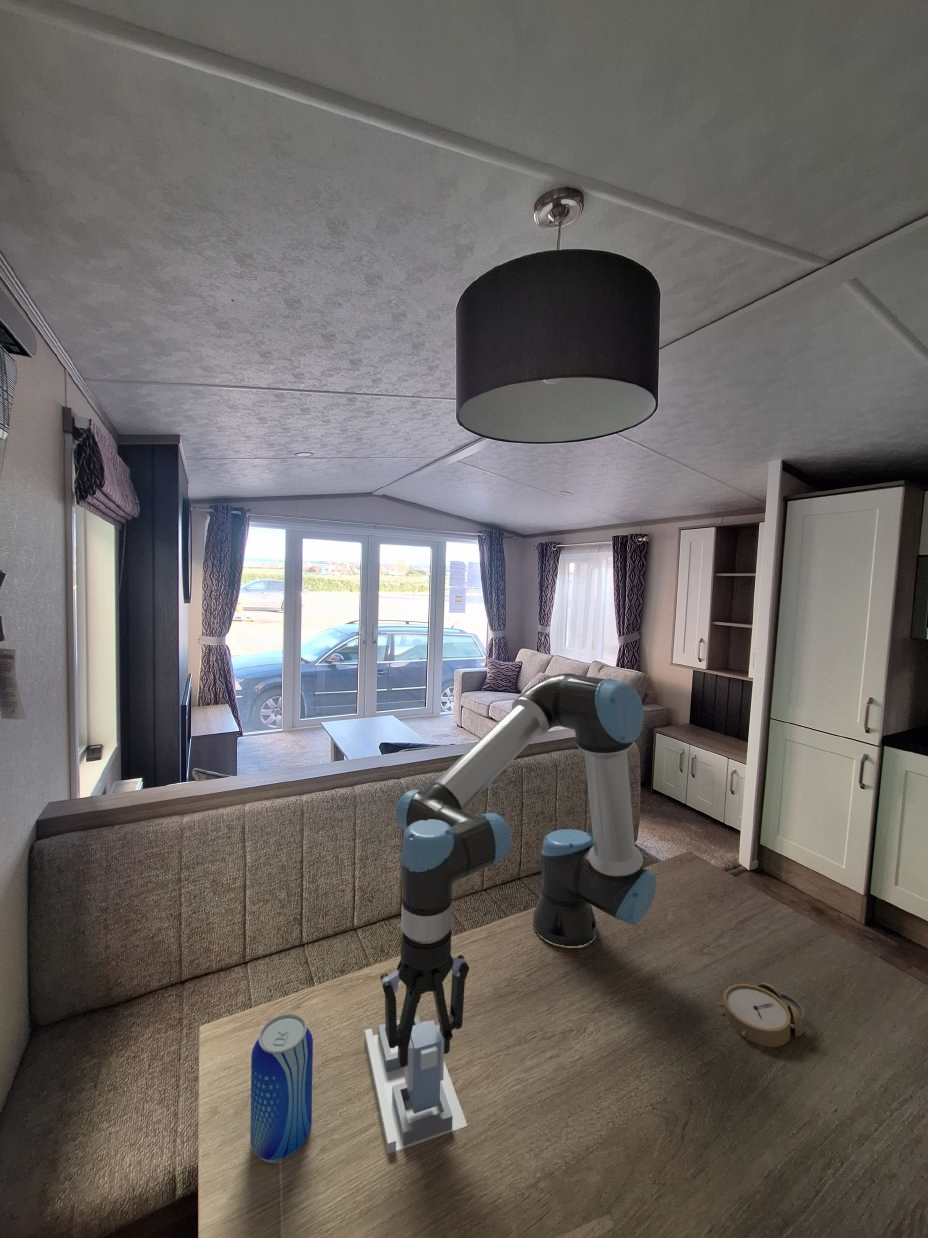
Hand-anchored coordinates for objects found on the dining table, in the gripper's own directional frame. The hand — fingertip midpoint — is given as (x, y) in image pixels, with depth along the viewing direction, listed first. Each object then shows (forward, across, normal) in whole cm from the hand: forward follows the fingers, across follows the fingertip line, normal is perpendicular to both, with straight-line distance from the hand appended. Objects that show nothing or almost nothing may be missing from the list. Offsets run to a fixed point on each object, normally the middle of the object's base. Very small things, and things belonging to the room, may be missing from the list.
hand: (423, 1077), depth 78 cm
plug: (+3, 0, 0) cm, 3 cm away
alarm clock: (+8, -67, +3) cm, 67 cm away
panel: (+7, 0, -6) cm, 9 cm away
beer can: (+7, +20, -4) cm, 22 cm away
